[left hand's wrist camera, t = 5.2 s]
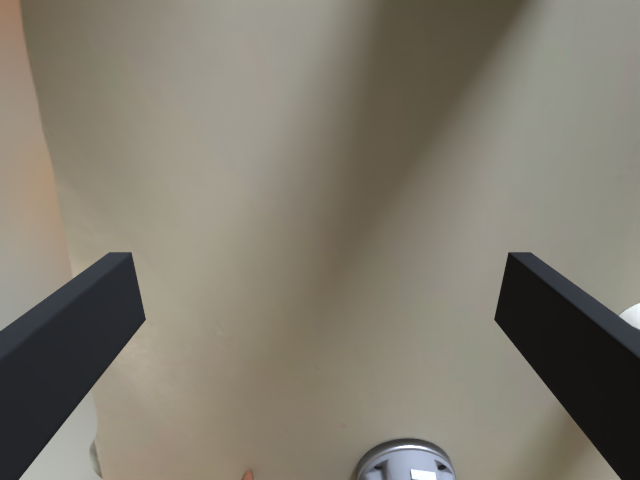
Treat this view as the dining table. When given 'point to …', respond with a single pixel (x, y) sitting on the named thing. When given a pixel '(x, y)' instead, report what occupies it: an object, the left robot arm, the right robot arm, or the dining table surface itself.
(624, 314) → the jar
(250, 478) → the brown ellipsoid
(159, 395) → the dining table surface
